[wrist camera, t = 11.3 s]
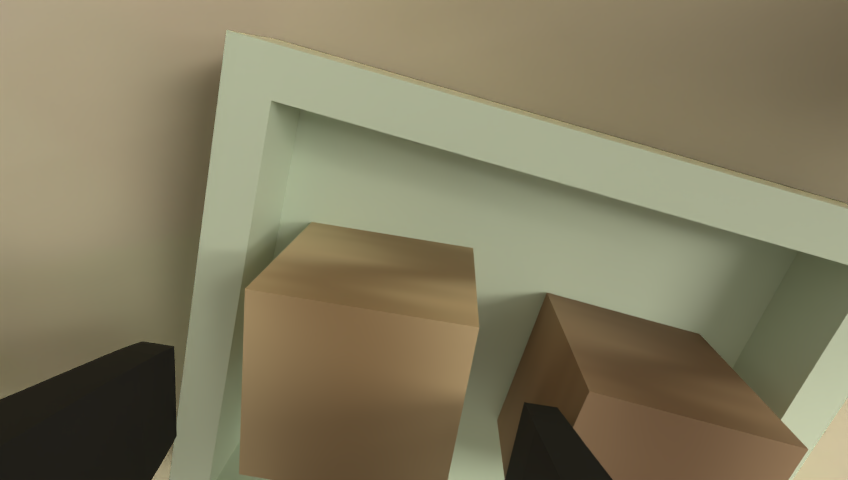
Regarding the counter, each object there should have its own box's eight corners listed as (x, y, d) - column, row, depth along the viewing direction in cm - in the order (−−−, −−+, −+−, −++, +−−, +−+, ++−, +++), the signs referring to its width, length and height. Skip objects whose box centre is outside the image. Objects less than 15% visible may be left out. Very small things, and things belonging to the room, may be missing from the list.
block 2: (699, 333, 12) (808, 449, 9) (635, 456, 14) (705, 603, 10) (546, 292, 12) (589, 390, 8) (497, 420, 14) (514, 555, 10)
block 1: (473, 247, 12) (479, 327, 8) (446, 385, 13) (442, 508, 10) (311, 222, 12) (245, 289, 8) (301, 361, 13) (238, 474, 10)
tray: (849, 204, 12) (954, 238, 9) (643, 559, 16) (678, 650, 13) (276, 39, 11) (226, 29, 9) (212, 443, 15) (165, 513, 13)
